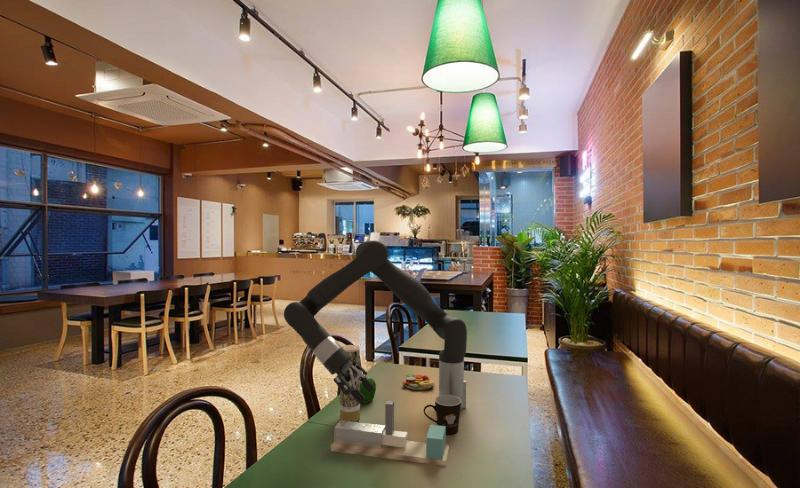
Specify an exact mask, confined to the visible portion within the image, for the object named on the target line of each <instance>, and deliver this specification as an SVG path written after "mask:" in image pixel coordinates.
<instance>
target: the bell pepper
mask: <svg viewBox="0 0 800 488" xmlns="http://www.w3.org/2000/svg"><path fill="white" fill-rule="evenodd" d="M367 379H368V380H369V381H370V382H371V384H372V385H373V386H374V389H373V390H372V391H371V392H368V391H367V389H366V388H365V387H364V386H363V385H362V384H361V382H360V392H361V393H362V394H363V396H364V397H365V400H364V401H363V402H362V403H361V404H368V403H369V402H372V401H373V400H374V399H375V395H376V388H377V384H376V381H375V380H374V379H373V378H371V377H370V378H367Z"/></svg>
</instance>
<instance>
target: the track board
mask: <svg viewBox="0 0 800 488" xmlns="http://www.w3.org/2000/svg"><path fill="white" fill-rule="evenodd" d="M330 451H331V452H337V453H342V454H352V455H358V456H367V457H374V458H381V459H389V460H397V461H405V462H412V463H420V464H427V465H434V466H442V467H447V463H448V458H449V453H450V445H447V444H446V446H445V451H444V455H443V460H439V459H431V458H426V442H422V441H421V442H420V441H412V440H408V442H407V445H406V447H405V448H404V447H396V446H388V445H383V447H382V448H381V449H376V448H368V447H360V446H352V445H345V444H337V443H334V441H333V442H332V443H331V445H330Z"/></svg>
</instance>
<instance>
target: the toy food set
mask: <svg viewBox="0 0 800 488" xmlns="http://www.w3.org/2000/svg"><path fill="white" fill-rule="evenodd" d="M402 384H403V385H404V386H405V387H406V388H408V389H410V390H412V391H413V390H414V391H425V390H429V389H431V388H433V387H434V386H435V381H433V380H432V379H430V378H429V376H428V375H422V374H414V373H407V374H406V379H405V380H404V381H403V382H402Z"/></svg>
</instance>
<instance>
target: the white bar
mask: <svg viewBox="0 0 800 488" xmlns="http://www.w3.org/2000/svg"><path fill="white" fill-rule="evenodd" d="M384 406H385V407H384V409H385V412H384V413H385V414H384V415H385V416H384V417H385V420H384V421H385V430H384V431H383V432H382V445H388V446H396V447H404V448H405V447H406V445H407V442H408V441H409V440H408V439H409V438H408V435H409V434H408V431H401V430H395V400H387V401H386V402H385V405H384Z"/></svg>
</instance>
